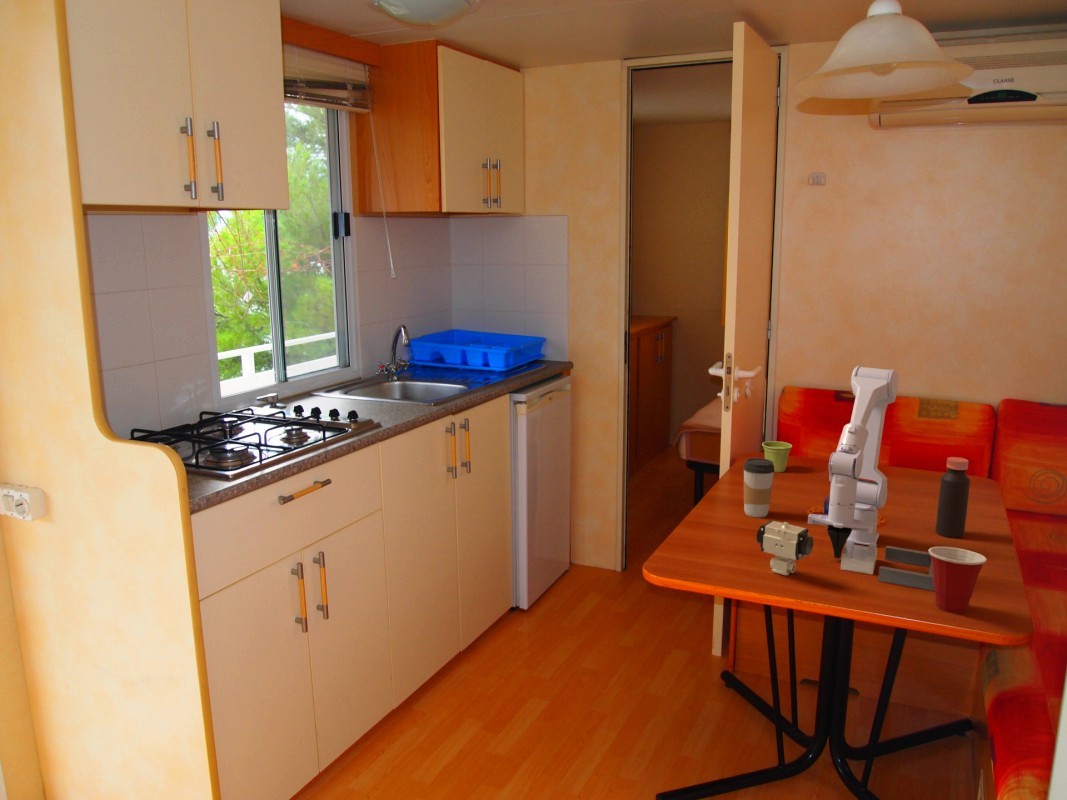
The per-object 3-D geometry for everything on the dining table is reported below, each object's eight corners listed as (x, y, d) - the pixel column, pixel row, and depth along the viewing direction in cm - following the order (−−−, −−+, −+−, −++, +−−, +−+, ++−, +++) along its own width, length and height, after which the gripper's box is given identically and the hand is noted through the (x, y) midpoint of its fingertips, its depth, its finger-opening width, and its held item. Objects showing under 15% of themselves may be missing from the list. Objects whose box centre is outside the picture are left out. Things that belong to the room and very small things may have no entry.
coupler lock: (845, 555, 206) (846, 539, 205) (876, 560, 203) (877, 544, 202) (840, 569, 197) (841, 553, 196) (872, 575, 194) (874, 558, 193)
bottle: (954, 540, 216) (963, 464, 213) (929, 532, 222) (937, 458, 218) (969, 535, 220) (978, 460, 216) (944, 527, 226) (952, 454, 222)
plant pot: (769, 474, 273) (771, 448, 272) (755, 467, 282) (756, 441, 281) (795, 473, 276) (797, 447, 274) (780, 465, 285) (782, 440, 283)
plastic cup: (980, 602, 180) (986, 548, 178) (980, 622, 170) (987, 566, 168) (924, 592, 185) (929, 539, 182) (921, 611, 175) (927, 556, 173)
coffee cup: (775, 519, 231) (779, 465, 228) (744, 518, 231) (748, 465, 228) (766, 509, 239) (770, 457, 236) (737, 509, 239) (740, 457, 236)
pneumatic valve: (762, 563, 200) (765, 514, 198) (811, 575, 193) (815, 525, 190) (752, 569, 196) (755, 520, 193) (801, 583, 189) (805, 532, 186)
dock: (885, 557, 204) (886, 545, 204) (938, 566, 199) (939, 554, 199) (878, 580, 190) (879, 568, 190) (934, 591, 185) (935, 578, 185)
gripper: (807, 501, 199) (802, 556, 202) (873, 511, 192) (868, 568, 195) (812, 493, 205) (808, 547, 208) (877, 503, 198) (871, 558, 201)
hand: (837, 556), depth 202 cm, fingers closed
